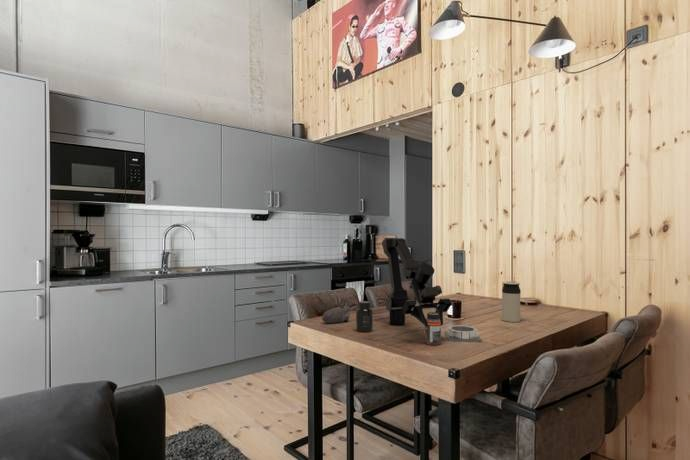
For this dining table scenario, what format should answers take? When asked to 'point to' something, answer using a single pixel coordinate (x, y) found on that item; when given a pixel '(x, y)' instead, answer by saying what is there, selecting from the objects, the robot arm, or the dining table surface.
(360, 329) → the supplement bottle
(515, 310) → the travel mug
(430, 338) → the supplement bottle
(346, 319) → the perforated stone tool
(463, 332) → the collar
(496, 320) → the dining table surface
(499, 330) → the dining table surface
